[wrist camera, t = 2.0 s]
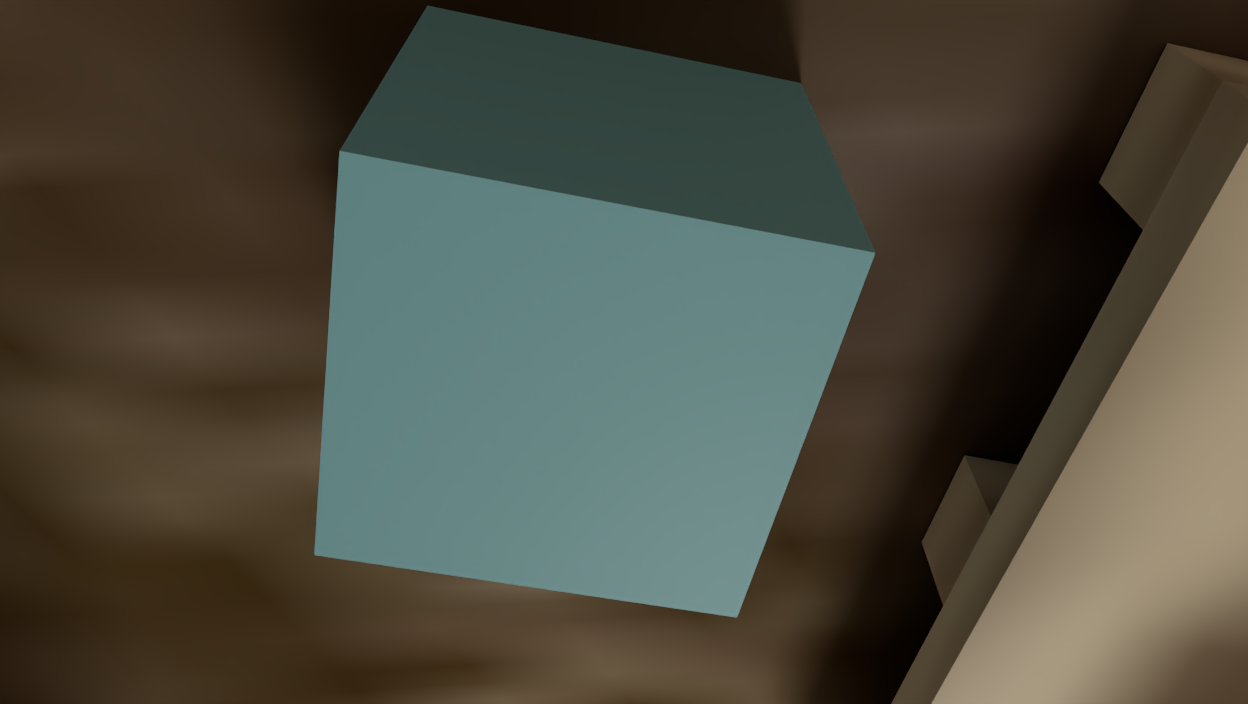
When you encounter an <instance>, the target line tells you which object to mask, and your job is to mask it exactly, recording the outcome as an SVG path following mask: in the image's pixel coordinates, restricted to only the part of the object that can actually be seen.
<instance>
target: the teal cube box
mask: <svg viewBox="0 0 1248 704" xmlns="http://www.w3.org/2000/svg"><path fill="white" fill-rule="evenodd" d="M874 255H875V251H874V248H873V246H872V244H871V242H870V239H869V237H868V235H867V232H866V230H865V228H864V226H863V223H862V221H861V219H860V216H859V214H858V212H857V210H856V207H855V205H854V203H853V200H852V198H851V196H850V194H849V191H848V189H847V187H846V184H845V182H844V180H843V178H842V175H841V173H840V171H839V168H838V166H837V164H836V162H835V159H834V157H833V155H832V152H831V150H830V148H829V145H828V143H827V141H826V139H825V136H824V134H823V132H822V129H821V127H820V125H819V123H818V120H817V118H816V116H815V113H814V111H813V109H812V107H811V104H810V102H809V100H808V97H807V95H806V93H805V91H804V88H803V86H802V84H801V83H798V82H793V81H788V80H783V79H779V78H774V77H769V76H764V75H759V74H755V73H750V72H745V71H740V70H735V69H730V68H726V67H721V66H716V65H711V64H706V63H702V62H697V61H692V60H687V59H682V58H678V57H673V56H668V55H663V54H658V53H653V52H649V51H644V50H639V49H634V48H629V47H625V46H620V45H615V44H610V43H605V42H601V41H596V40H591V39H586V38H581V37H576V36H572V35H567V34H562V33H557V32H552V31H548V30H543V29H538V28H533V27H528V26H524V25H519V24H514V23H509V22H504V21H499V20H495V19H490V18H485V17H480V16H475V15H471V14H466V13H461V12H456V11H451V10H447V9H442V8H437V7H432V6H427V7H426V9H425V11H424V12H423V14H422V16H421V17H420V19H419V20H418V22H417V24H416V25H415V27H414V29H413V30H412V32H411V34H410V35H409V37H408V39H407V40H406V42H405V44H404V45H403V47H402V49H401V50H400V52H399V53H398V55H397V57H396V58H395V60H394V62H393V63H392V65H391V67H390V68H389V70H388V72H387V73H386V75H385V77H384V78H383V80H382V82H381V83H380V85H379V87H378V88H377V90H376V91H375V93H374V95H373V96H372V98H371V100H370V101H369V103H368V105H367V106H366V108H365V110H364V111H363V113H362V115H361V116H360V118H359V120H358V121H357V123H356V125H355V126H354V128H353V129H352V131H351V133H350V134H349V136H348V138H347V139H346V141H345V143H344V144H343V146H342V148H341V149H340V151H339V167H338V184H337V200H336V216H335V232H334V248H333V264H332V280H331V296H330V312H329V328H328V344H327V360H326V376H325V392H324V408H323V424H322V440H321V456H320V472H319V489H318V505H317V521H316V537H315V553H314V555H317V556H324V557H331V558H338V559H344V560H351V561H358V562H365V563H371V564H378V565H385V566H392V567H398V568H405V569H412V570H419V571H426V572H432V573H439V574H446V575H453V576H459V577H466V578H473V579H480V580H486V581H493V582H500V583H507V584H514V585H520V586H527V587H534V588H541V589H547V590H554V591H561V592H568V593H575V594H581V595H588V596H595V597H602V598H608V599H615V600H622V601H629V602H635V603H642V604H649V605H656V606H663V607H669V608H676V609H683V610H690V611H696V612H703V613H710V614H717V615H723V616H730V617H737V616H738V614H739V611H740V608H741V606H742V603H743V600H744V598H745V595H746V592H747V590H748V587H749V585H750V582H751V579H752V577H753V574H754V571H755V569H756V566H757V563H758V561H759V558H760V556H761V553H762V550H763V548H764V545H765V542H766V540H767V537H768V535H769V532H770V529H771V527H772V524H773V521H774V519H775V516H776V513H777V511H778V508H779V506H780V503H781V500H782V498H783V495H784V492H785V490H786V487H787V484H788V482H789V479H790V477H791V474H792V471H793V469H794V466H795V463H796V461H797V458H798V455H799V453H800V450H801V448H802V445H803V442H804V440H805V437H806V434H807V432H808V429H809V427H810V424H811V421H812V419H813V416H814V413H815V411H816V408H817V405H818V403H819V400H820V398H821V395H822V392H823V390H824V387H825V384H826V382H827V379H828V376H829V374H830V371H831V369H832V366H833V363H834V361H835V358H836V355H837V353H838V350H839V348H840V345H841V342H842V340H843V337H844V334H845V332H846V329H847V326H848V324H849V321H850V319H851V316H852V313H853V311H854V308H855V305H856V303H857V300H858V297H859V295H860V292H861V290H862V287H863V284H864V282H865V279H866V276H867V274H868V271H869V268H870V266H871V263H872V261H873V258H874Z"/></svg>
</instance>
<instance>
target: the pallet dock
mask: <svg viewBox="0 0 1248 704" xmlns="http://www.w3.org/2000/svg"><path fill="white" fill-rule="evenodd" d="M1099 183H1100V184H1101V185H1102V186H1103V187H1104V189H1105V190H1106V191H1107V192H1108V193H1109V194H1110V195H1111V196H1112V197H1113V198H1114V199H1115V200H1116V201H1117V203H1118V204H1119V205H1120V206H1121V207H1122V208H1123V209H1124V210H1125V211H1126V212H1127V213H1128V214H1129V215H1130V216H1131V218H1132V219H1133V220H1134V221H1135V222H1136V223H1137V224H1138V225H1139V226H1140V227H1141V228H1142V229H1143V231H1142V233H1141V235H1140V237H1139V239H1138V241H1137V243H1136V244H1135V246H1134V248H1133V250H1132V252H1131V254H1130V256H1129V258H1128V259H1127V261H1126V263H1125V265H1124V267H1123V269H1122V271H1121V273H1120V275H1119V276H1118V278H1117V280H1116V282H1115V284H1114V286H1113V288H1112V290H1111V291H1110V293H1109V295H1108V297H1107V299H1106V301H1105V303H1104V305H1103V306H1102V308H1101V310H1100V312H1099V314H1098V316H1097V318H1096V320H1095V322H1094V323H1093V325H1092V327H1091V329H1090V331H1089V333H1088V335H1087V337H1086V338H1085V340H1084V342H1083V344H1082V346H1081V348H1080V350H1079V352H1078V353H1077V355H1076V357H1075V359H1074V361H1073V363H1072V365H1071V367H1070V369H1069V370H1068V372H1067V374H1066V376H1065V378H1064V380H1063V382H1062V384H1061V385H1060V387H1059V389H1058V391H1057V393H1056V395H1055V397H1054V399H1053V400H1052V402H1051V404H1050V406H1049V408H1048V410H1047V412H1046V414H1045V416H1044V417H1043V419H1042V421H1041V423H1040V425H1039V427H1038V429H1037V431H1036V432H1035V434H1034V436H1033V438H1032V440H1031V442H1030V444H1029V446H1028V447H1027V449H1026V451H1025V453H1024V455H1023V457H1022V459H1021V461H1020V463H1019V464H1012V463H1007V462H1001V461H995V460H989V459H983V458H977V457H971V456H966V455H964V457H963V459H962V461H961V463H960V465H959V467H958V469H957V471H956V473H955V475H954V477H953V480H952V482H951V484H950V486H949V488H948V490H947V492H946V494H945V496H944V498H943V500H942V502H941V504H940V506H939V508H938V510H937V512H936V514H935V516H934V518H933V520H932V522H931V524H930V526H929V528H928V530H927V532H926V534H925V536H924V538H923V540H922V545H923V548H924V551H925V554H926V557H927V560H928V563H929V565H930V568H931V571H932V574H933V577H934V580H935V583H936V586H937V589H938V592H939V595H940V598H941V601H942V604H943V607H942V609H941V611H940V613H939V615H938V617H937V619H936V620H935V622H934V624H933V626H932V628H931V630H930V632H929V634H928V636H927V637H926V639H925V641H924V643H923V645H922V647H921V649H920V651H919V652H918V654H917V656H916V658H915V660H914V662H913V664H912V666H911V667H910V669H909V671H908V673H907V675H906V677H905V679H904V681H903V683H902V684H901V686H900V688H899V690H898V692H897V694H896V696H895V698H894V699H893V701H892V703H891V704H1248V61H1246V60H1242V59H1237V58H1233V57H1228V56H1224V55H1219V54H1214V53H1210V52H1205V51H1201V50H1196V49H1192V48H1187V47H1183V46H1178V45H1174V44H1169V43H1167V45H1166V47H1165V49H1164V51H1163V53H1162V55H1161V57H1160V59H1159V61H1158V63H1157V65H1156V67H1155V69H1154V71H1153V73H1152V75H1151V77H1150V79H1149V81H1148V83H1147V85H1146V88H1145V90H1144V92H1143V94H1142V96H1141V98H1140V100H1139V102H1138V104H1137V106H1136V108H1135V110H1134V112H1133V114H1132V116H1131V118H1130V120H1129V122H1128V124H1127V126H1126V128H1125V130H1124V132H1123V134H1122V136H1121V138H1120V140H1119V142H1118V144H1117V146H1116V148H1115V150H1114V153H1113V155H1112V157H1111V159H1110V161H1109V163H1108V165H1107V167H1106V169H1105V171H1104V173H1103V175H1102V177H1101V179H1100V181H1099Z"/></svg>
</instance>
